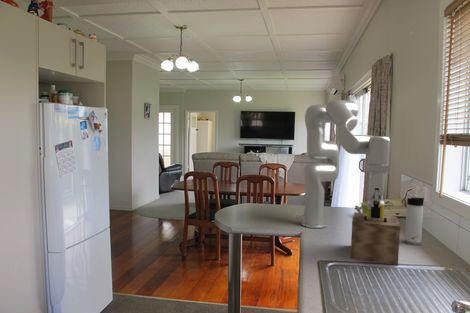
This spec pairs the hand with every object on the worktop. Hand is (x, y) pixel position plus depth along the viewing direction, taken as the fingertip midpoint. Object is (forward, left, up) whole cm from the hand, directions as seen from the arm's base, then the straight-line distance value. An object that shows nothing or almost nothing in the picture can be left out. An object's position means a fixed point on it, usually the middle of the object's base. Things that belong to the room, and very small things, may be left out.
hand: (375, 215), depth 133 cm
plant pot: (-2, +59, -16) cm, 61 cm away
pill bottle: (0, 0, -3) cm, 3 cm away
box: (0, 0, -15) cm, 15 cm away
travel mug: (+16, +23, -16) cm, 32 cm away
